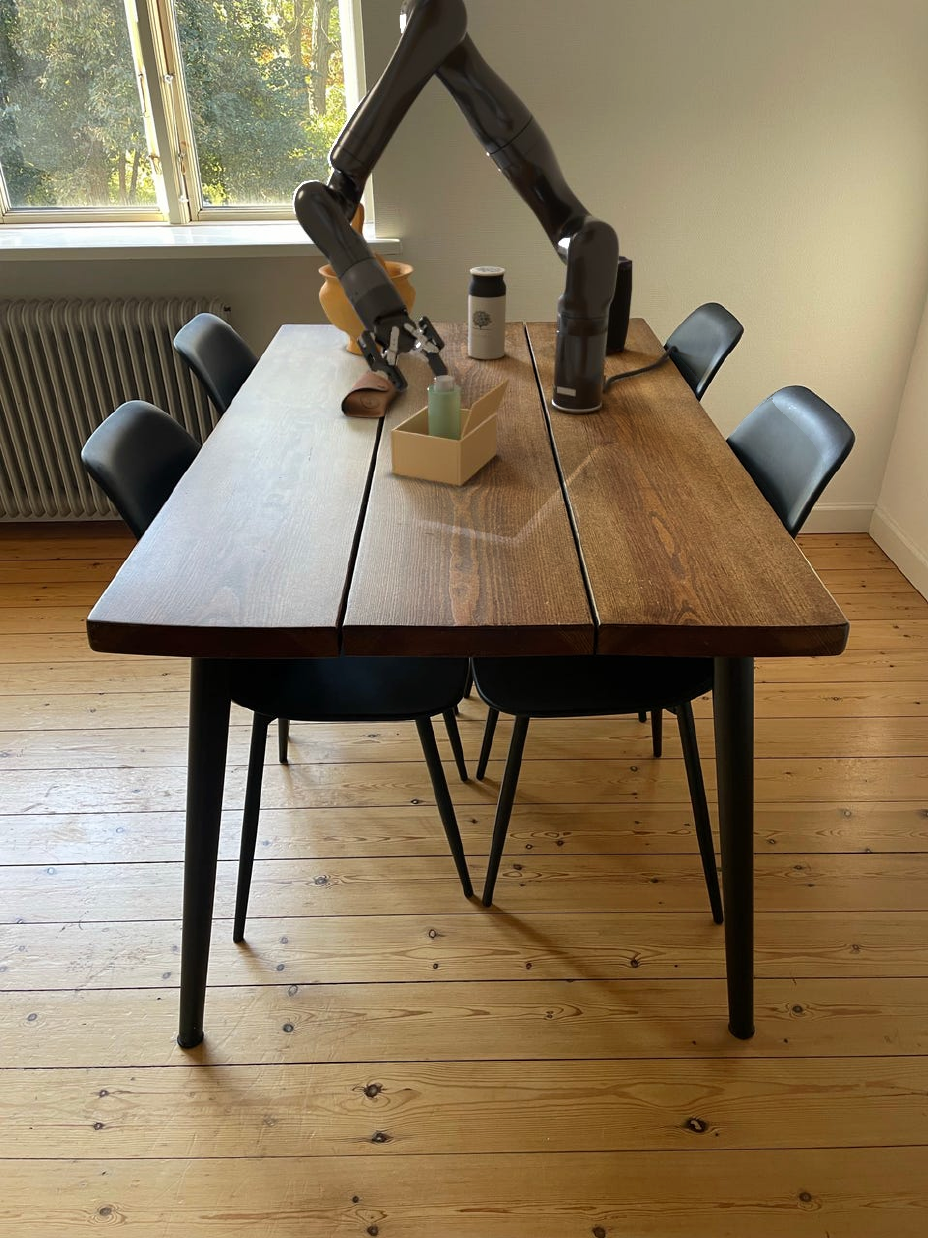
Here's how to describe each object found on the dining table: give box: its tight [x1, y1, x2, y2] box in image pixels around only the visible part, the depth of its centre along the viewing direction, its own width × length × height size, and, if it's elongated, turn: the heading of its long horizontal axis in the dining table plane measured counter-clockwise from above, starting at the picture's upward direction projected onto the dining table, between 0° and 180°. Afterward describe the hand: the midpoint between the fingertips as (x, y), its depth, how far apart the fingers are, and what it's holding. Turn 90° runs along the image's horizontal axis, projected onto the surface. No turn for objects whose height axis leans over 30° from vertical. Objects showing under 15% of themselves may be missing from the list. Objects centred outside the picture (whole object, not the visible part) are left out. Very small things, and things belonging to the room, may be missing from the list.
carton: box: [390, 405, 498, 487], centre depth 148 cm, size 14×12×8 cm
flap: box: [460, 377, 511, 438], centre depth 142 cm, size 14×6×1 cm
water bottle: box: [427, 374, 462, 441], centre depth 146 cm, size 5×5×14 cm
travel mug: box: [467, 266, 507, 361], centre depth 199 cm, size 8×8×18 cm
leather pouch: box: [340, 368, 401, 419], centre depth 176 cm, size 18×7×7 cm, turn 172°
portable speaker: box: [605, 255, 634, 356], centre depth 202 cm, size 9×9×20 cm
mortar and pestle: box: [318, 202, 417, 356], centre depth 200 cm, size 21×21×30 cm
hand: (424, 383), depth 146 cm, fingers open, 8 cm apart
